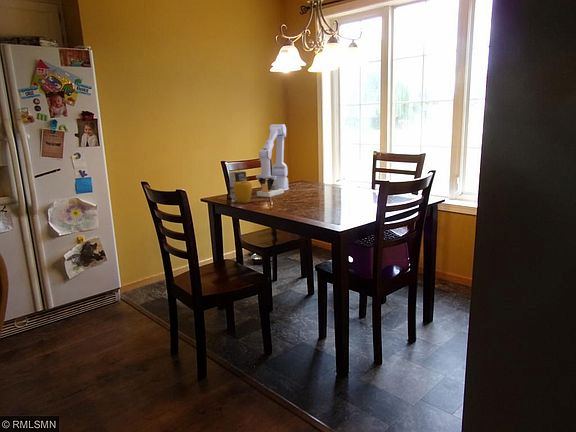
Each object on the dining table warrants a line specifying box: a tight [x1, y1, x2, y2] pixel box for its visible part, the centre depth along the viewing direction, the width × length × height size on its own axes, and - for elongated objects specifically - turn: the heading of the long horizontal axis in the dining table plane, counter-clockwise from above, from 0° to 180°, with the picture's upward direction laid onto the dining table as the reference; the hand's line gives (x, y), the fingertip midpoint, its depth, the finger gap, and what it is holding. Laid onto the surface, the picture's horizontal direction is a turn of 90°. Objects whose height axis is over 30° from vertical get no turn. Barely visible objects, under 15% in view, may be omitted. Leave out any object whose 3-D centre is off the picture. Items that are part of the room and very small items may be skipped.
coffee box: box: [228, 170, 247, 200], centre depth 269 cm, size 9×6×16 cm
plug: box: [261, 182, 271, 193], centre depth 271 cm, size 4×4×6 cm
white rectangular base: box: [256, 183, 285, 199], centre depth 275 cm, size 16×10×6 cm, turn 146°
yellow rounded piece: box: [234, 180, 253, 204], centre depth 255 cm, size 11×11×13 cm
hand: (266, 190), depth 272 cm, fingers closed on plug, 4 cm apart
